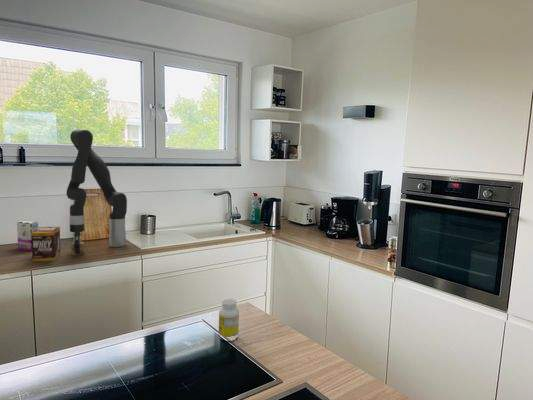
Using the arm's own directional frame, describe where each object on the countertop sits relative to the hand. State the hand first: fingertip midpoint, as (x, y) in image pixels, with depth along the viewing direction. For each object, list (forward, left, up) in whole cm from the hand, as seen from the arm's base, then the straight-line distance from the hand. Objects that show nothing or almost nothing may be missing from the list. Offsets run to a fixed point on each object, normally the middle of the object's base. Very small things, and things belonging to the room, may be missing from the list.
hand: (77, 251), depth 225 cm
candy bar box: (+26, -16, -1) cm, 30 cm away
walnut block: (0, 0, -1) cm, 1 cm away
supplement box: (+15, +4, -1) cm, 15 cm away
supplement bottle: (-49, +123, -1) cm, 132 cm away
